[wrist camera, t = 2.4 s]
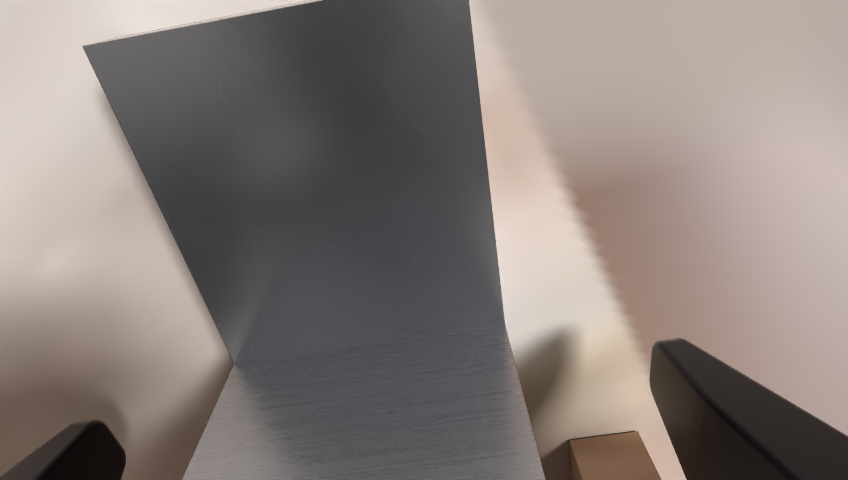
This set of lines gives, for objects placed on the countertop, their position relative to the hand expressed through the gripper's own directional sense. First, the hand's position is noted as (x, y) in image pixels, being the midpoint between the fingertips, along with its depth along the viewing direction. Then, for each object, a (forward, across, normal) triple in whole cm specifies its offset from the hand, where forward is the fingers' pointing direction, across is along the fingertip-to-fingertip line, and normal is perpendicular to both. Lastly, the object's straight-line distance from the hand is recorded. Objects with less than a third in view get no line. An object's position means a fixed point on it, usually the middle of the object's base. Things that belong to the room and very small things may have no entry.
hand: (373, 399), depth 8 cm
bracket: (+2, 0, -3) cm, 3 cm away
